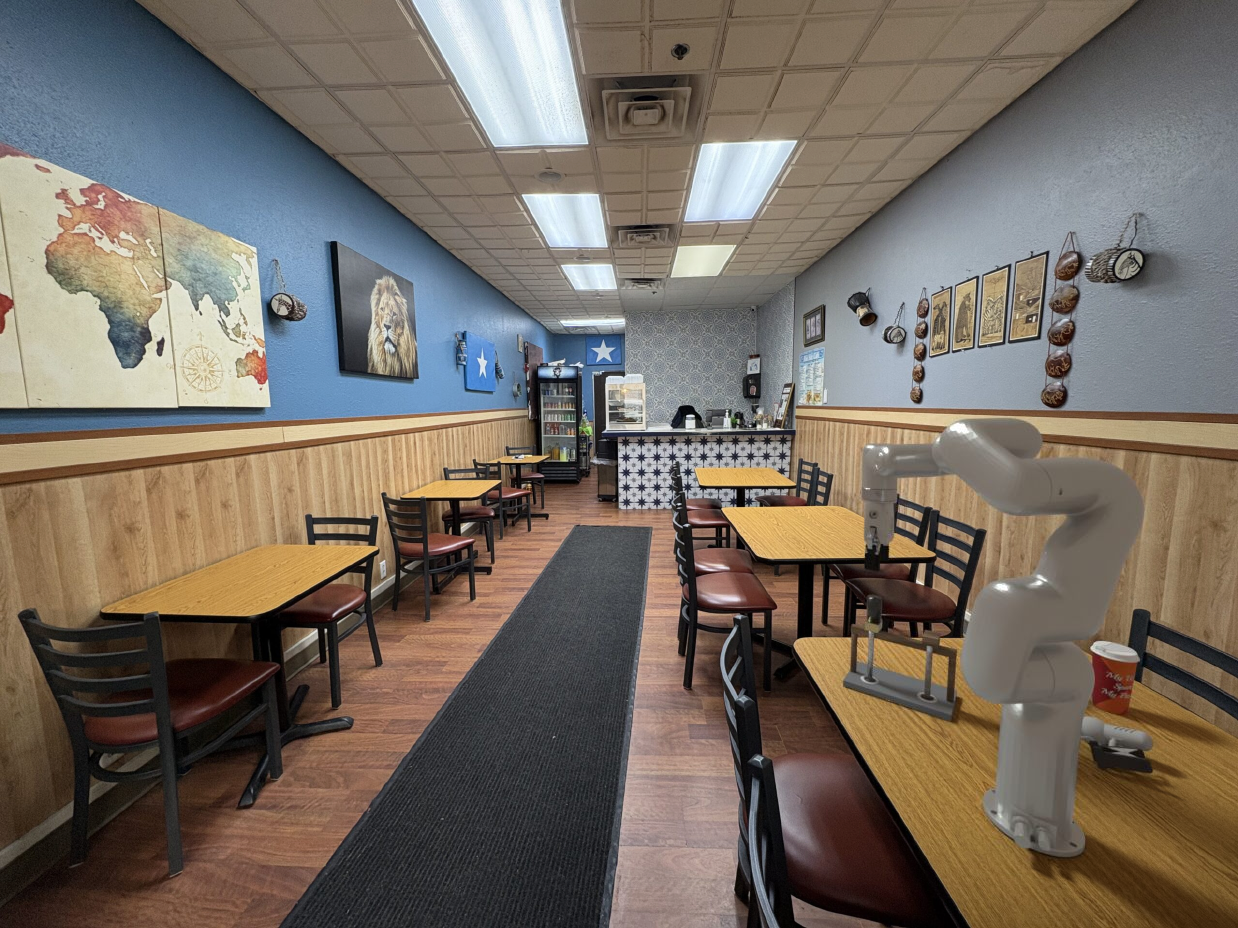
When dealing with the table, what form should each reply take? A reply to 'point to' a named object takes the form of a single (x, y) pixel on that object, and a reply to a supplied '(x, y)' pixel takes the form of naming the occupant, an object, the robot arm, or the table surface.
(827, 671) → the table surface
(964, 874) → the table surface
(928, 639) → the divider frame
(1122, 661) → the paper cup
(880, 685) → the hole plate
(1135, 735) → the clip-on lamp
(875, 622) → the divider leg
